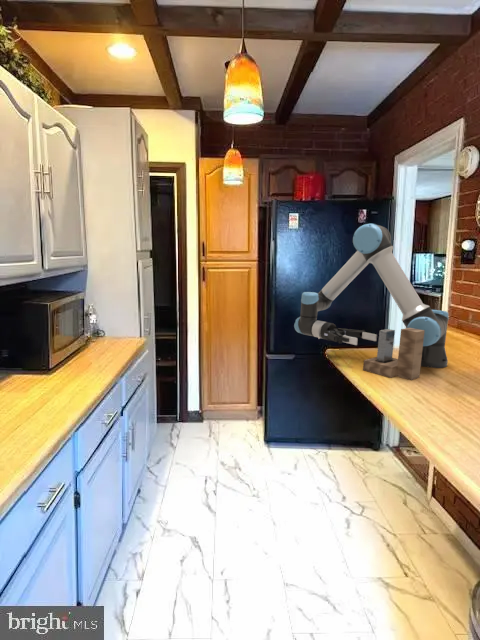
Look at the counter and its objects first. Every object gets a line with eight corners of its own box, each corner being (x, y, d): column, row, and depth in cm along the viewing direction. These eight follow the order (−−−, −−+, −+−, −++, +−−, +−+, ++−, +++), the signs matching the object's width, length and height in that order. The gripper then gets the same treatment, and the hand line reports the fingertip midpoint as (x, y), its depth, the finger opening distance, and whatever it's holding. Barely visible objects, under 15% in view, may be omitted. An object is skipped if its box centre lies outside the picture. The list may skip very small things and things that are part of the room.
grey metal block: (375, 370, 172) (378, 330, 169) (383, 368, 176) (387, 328, 173) (383, 372, 169) (387, 332, 167) (391, 370, 173) (395, 330, 171)
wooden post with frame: (362, 370, 172) (367, 324, 169) (382, 364, 181) (386, 321, 178) (405, 382, 158) (411, 333, 155) (424, 375, 167) (429, 329, 164)
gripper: (341, 335, 202) (382, 345, 186) (305, 342, 186) (347, 352, 170) (342, 319, 200) (384, 327, 185) (306, 324, 184) (349, 333, 169)
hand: (366, 339), depth 177 cm, fingers open, 13 cm apart
